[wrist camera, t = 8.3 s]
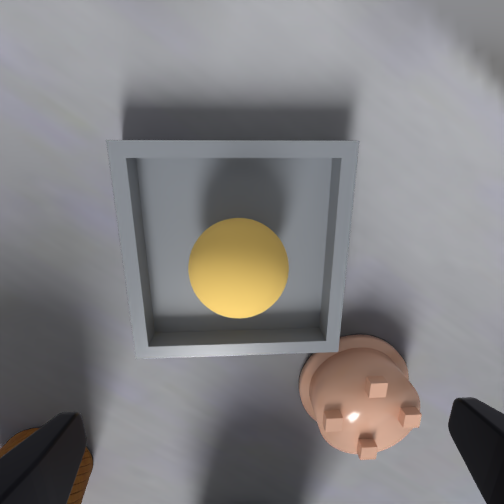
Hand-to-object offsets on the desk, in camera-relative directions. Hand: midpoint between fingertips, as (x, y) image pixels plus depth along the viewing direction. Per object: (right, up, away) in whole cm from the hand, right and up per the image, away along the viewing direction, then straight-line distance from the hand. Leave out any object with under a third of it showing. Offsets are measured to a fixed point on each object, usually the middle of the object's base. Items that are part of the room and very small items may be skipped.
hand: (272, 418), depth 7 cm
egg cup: (+7, -5, +14) cm, 17 cm away
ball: (-1, +4, +10) cm, 11 cm away
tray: (-1, +4, +11) cm, 12 cm away
